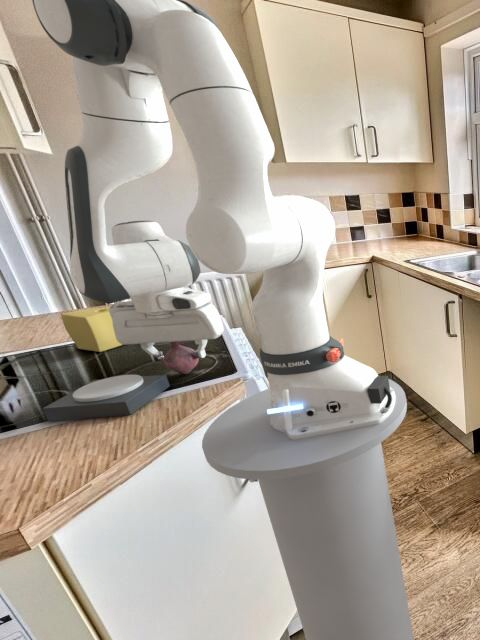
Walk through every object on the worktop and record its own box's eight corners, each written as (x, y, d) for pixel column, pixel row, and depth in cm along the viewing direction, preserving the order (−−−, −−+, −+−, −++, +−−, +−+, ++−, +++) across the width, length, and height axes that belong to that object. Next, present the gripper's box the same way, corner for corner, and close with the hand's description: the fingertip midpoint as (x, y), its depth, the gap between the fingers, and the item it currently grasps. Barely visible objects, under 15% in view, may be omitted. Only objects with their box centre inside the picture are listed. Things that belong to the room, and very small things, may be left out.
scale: (170, 386, 91) (164, 371, 89) (130, 414, 80) (123, 398, 78) (98, 391, 89) (92, 376, 88) (48, 421, 78) (39, 404, 77)
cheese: (118, 336, 123) (105, 303, 119) (142, 340, 119) (130, 306, 116) (74, 349, 114) (58, 314, 110) (99, 353, 110) (84, 317, 107)
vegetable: (163, 378, 95) (148, 336, 91) (192, 367, 100) (178, 327, 96) (180, 382, 92) (165, 339, 89) (208, 370, 98) (195, 330, 94)
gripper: (94, 306, 86) (119, 368, 91) (202, 300, 88) (220, 361, 93) (117, 298, 91) (139, 356, 96) (218, 293, 94) (234, 350, 99)
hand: (180, 358), depth 95 cm, fingers open, 7 cm apart
